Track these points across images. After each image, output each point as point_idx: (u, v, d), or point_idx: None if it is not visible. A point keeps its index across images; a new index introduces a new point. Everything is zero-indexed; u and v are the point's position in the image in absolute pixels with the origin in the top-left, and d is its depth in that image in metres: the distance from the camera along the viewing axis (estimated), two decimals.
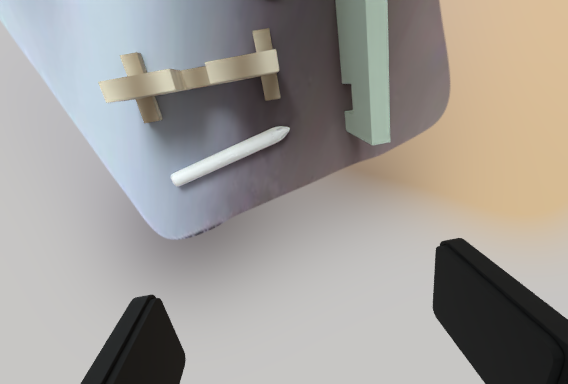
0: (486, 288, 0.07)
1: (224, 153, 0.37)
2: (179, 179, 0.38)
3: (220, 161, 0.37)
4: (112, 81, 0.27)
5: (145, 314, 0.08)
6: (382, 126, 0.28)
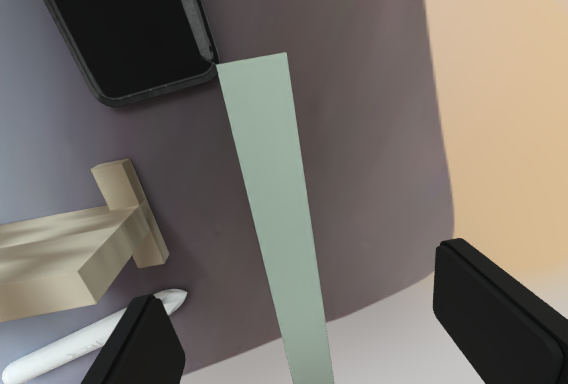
0: (486, 288, 0.07)
1: (80, 340, 0.22)
2: (14, 380, 0.23)
3: (75, 353, 0.22)
4: None
5: (145, 314, 0.08)
6: None
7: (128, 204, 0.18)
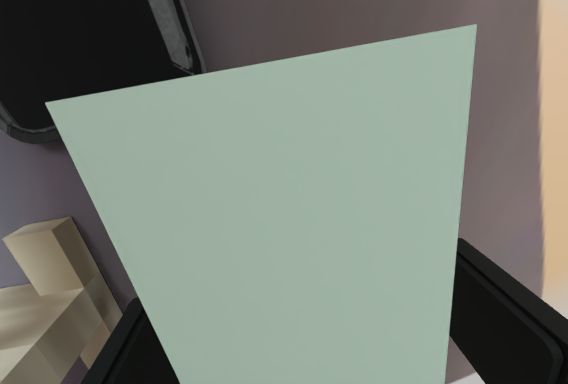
0: (486, 288, 0.07)
1: None
2: None
3: None
4: None
5: (145, 314, 0.08)
6: None
7: (67, 287, 0.12)
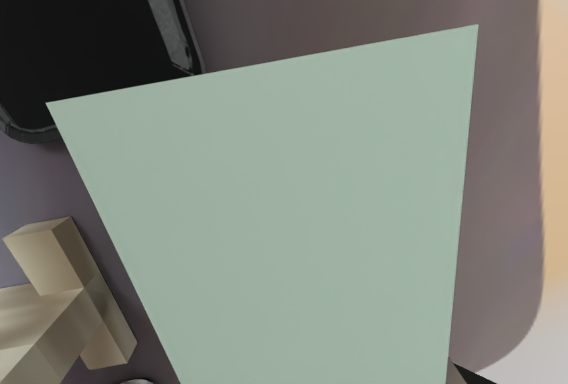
0: None
1: None
2: None
3: None
4: None
5: None
6: None
7: (67, 287, 0.12)
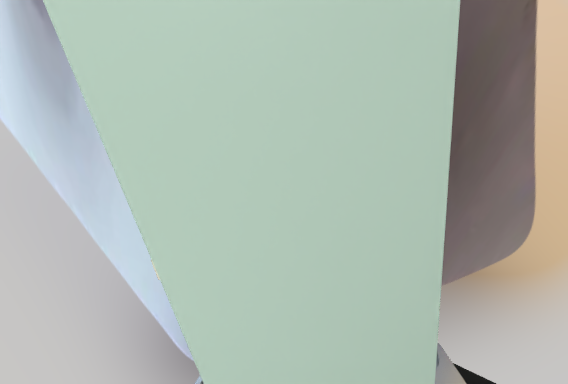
0: None
1: None
2: None
3: None
4: None
5: None
6: None
7: None
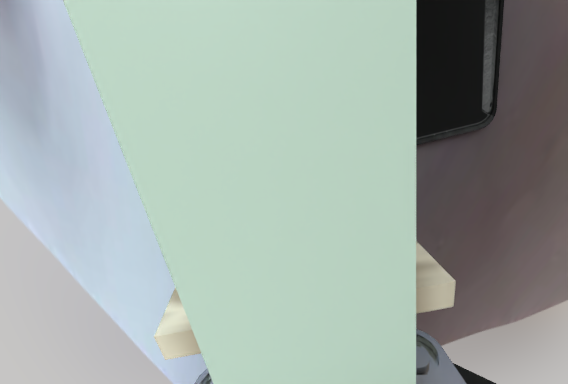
0: None
1: None
2: None
3: None
4: (178, 334, 0.16)
5: None
6: None
7: None
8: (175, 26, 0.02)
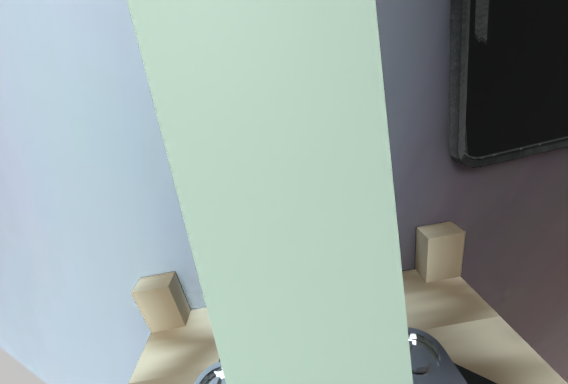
0: None
1: None
2: None
3: None
4: None
5: None
6: None
7: (449, 276, 0.15)
8: None
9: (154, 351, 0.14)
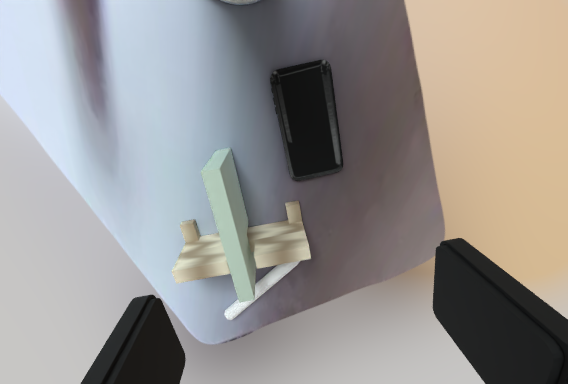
0: (486, 288, 0.07)
1: (258, 287, 0.45)
2: (231, 316, 0.46)
3: (257, 294, 0.45)
4: (182, 270, 0.35)
5: (145, 314, 0.08)
6: (245, 290, 0.34)
7: (297, 221, 0.41)
8: (209, 182, 0.29)
9: (187, 246, 0.40)
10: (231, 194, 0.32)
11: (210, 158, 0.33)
